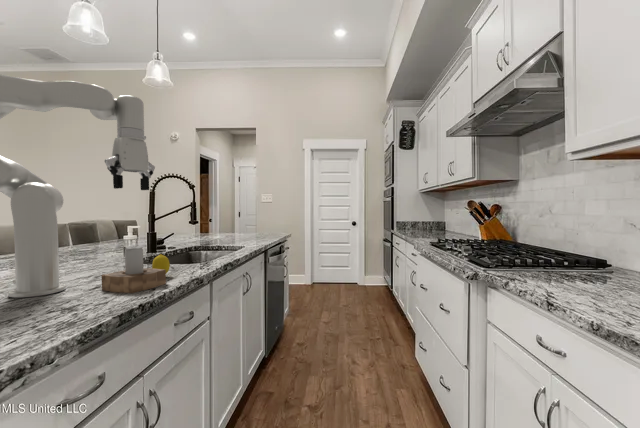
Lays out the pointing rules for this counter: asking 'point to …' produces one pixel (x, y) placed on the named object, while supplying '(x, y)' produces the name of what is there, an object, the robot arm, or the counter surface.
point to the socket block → (133, 280)
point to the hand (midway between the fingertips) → (132, 189)
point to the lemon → (161, 263)
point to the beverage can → (134, 260)
